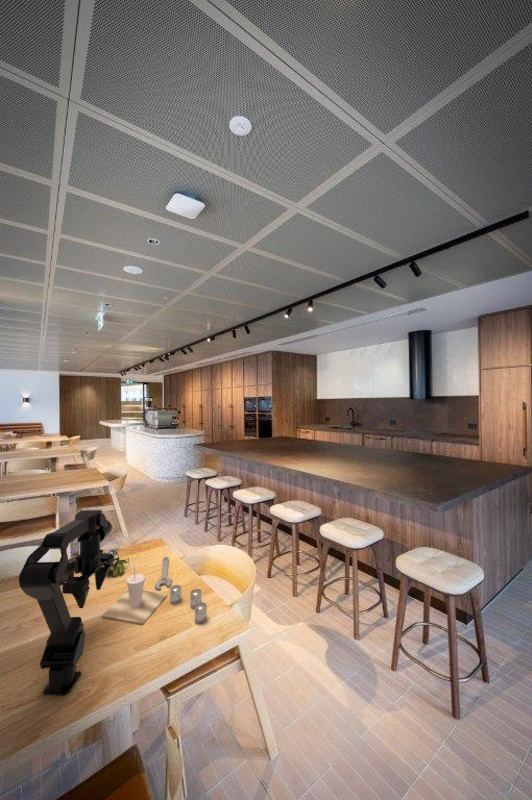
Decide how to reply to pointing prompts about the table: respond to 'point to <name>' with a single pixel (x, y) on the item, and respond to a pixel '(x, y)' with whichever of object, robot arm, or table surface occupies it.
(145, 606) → the pad
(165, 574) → the adjustable wrench
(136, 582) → the smoothie
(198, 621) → the posts
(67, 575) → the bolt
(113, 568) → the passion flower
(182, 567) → the table surface
